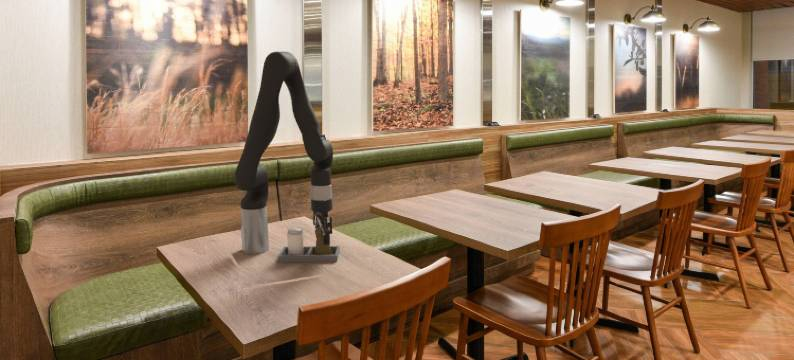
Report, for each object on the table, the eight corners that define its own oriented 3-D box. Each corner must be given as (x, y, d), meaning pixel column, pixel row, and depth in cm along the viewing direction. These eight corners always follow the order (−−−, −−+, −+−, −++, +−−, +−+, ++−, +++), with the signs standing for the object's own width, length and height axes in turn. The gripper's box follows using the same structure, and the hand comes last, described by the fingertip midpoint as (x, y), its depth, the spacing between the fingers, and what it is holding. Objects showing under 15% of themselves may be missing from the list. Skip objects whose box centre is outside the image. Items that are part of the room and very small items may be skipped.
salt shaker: (290, 260, 191) (289, 232, 189) (286, 255, 196) (285, 228, 194) (306, 258, 194) (305, 230, 192) (301, 253, 199) (300, 226, 197)
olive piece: (328, 259, 192) (327, 229, 190) (312, 258, 193) (311, 228, 191) (333, 254, 198) (333, 224, 196) (318, 253, 199) (316, 224, 197)
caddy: (278, 264, 190) (278, 256, 189) (284, 254, 200) (283, 246, 200) (337, 263, 190) (337, 255, 190) (339, 253, 201) (339, 246, 200)
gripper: (305, 194, 196) (306, 237, 199) (317, 202, 183) (319, 248, 186) (325, 192, 199) (326, 234, 202) (338, 200, 186) (339, 245, 190)
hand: (322, 241), depth 194 cm, fingers open, 8 cm apart
